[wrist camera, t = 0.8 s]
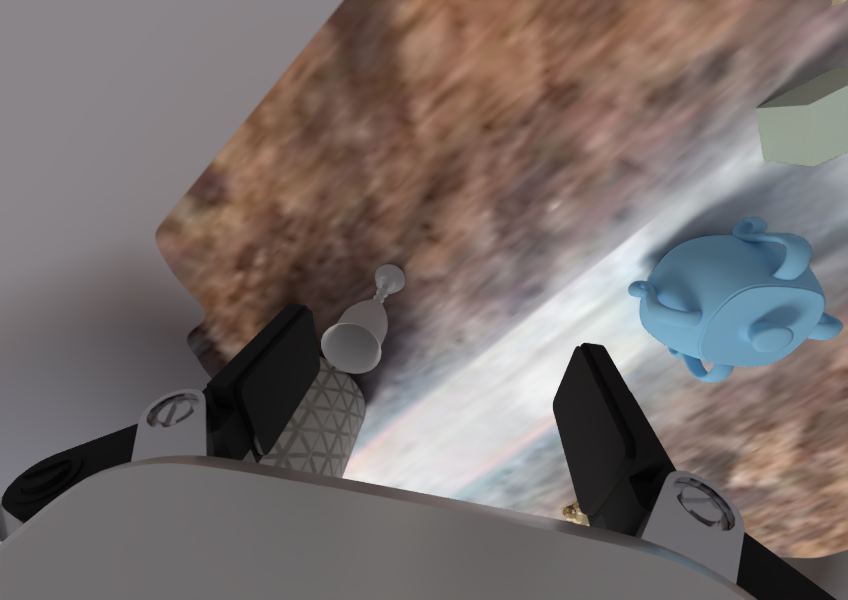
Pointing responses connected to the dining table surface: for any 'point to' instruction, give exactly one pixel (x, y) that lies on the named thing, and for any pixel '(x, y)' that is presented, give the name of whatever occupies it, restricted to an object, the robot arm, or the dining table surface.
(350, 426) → the planter
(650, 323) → the decorative pot
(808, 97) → the sage cube
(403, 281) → the chalice
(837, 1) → the maple cube
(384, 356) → the dining table surface
